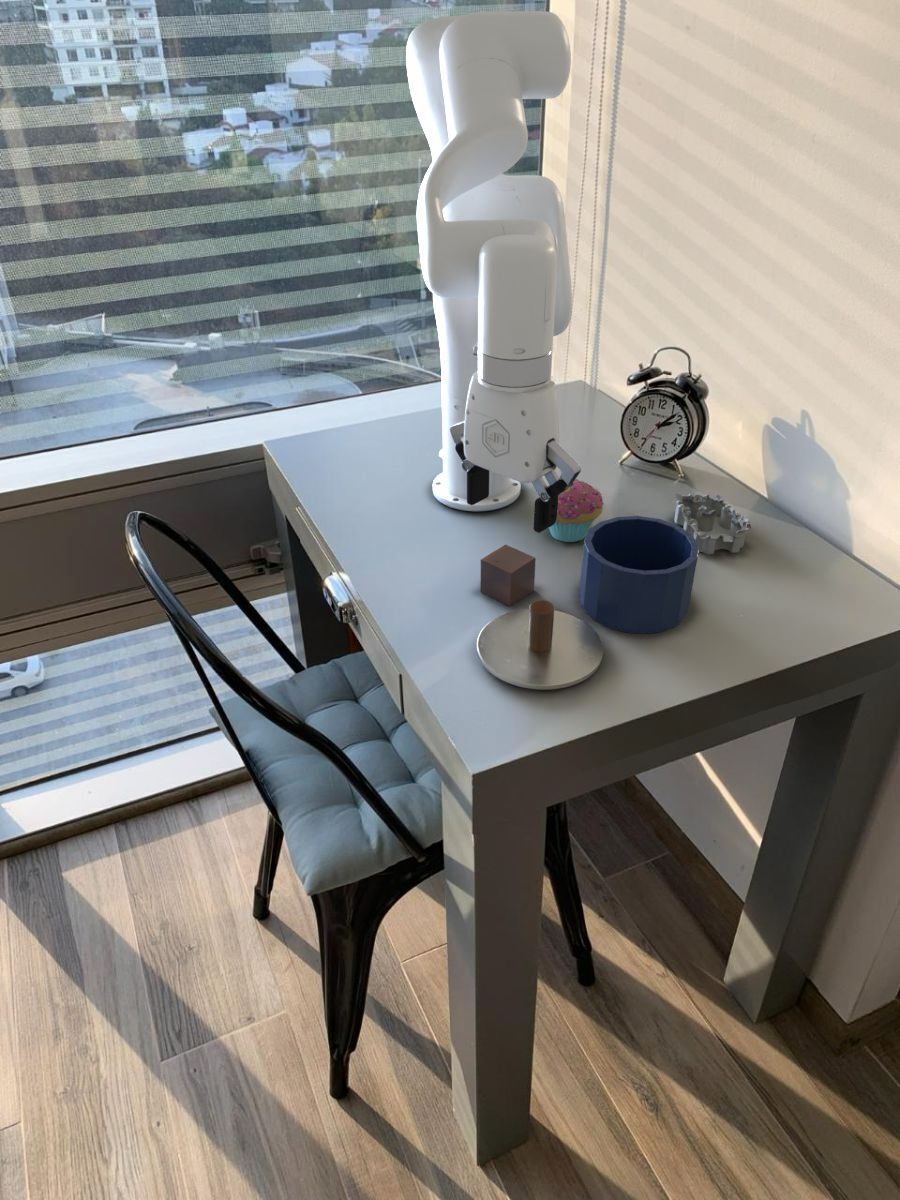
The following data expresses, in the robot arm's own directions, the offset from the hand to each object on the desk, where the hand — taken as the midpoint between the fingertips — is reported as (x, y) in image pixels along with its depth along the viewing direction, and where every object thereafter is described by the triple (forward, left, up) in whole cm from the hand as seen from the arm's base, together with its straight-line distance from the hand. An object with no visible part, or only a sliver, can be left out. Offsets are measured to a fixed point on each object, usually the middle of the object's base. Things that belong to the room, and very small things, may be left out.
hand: (510, 513), depth 101 cm
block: (0, 0, -11) cm, 11 cm away
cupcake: (-8, +14, -11) cm, 20 cm away
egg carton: (+1, +30, -11) cm, 32 cm away
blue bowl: (+9, +12, -11) cm, 18 cm away
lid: (+12, -3, -10) cm, 16 cm away
